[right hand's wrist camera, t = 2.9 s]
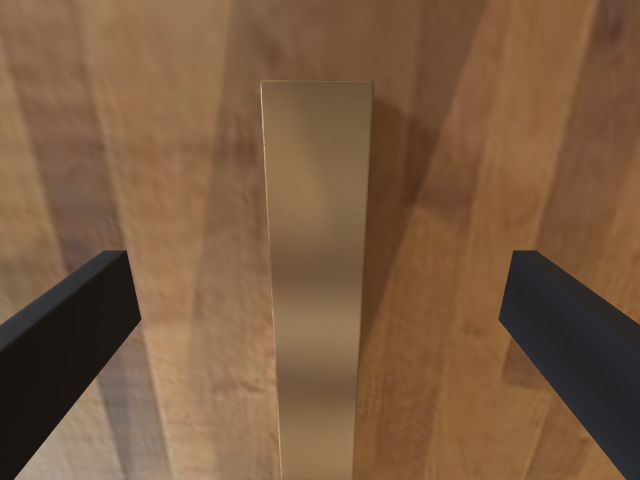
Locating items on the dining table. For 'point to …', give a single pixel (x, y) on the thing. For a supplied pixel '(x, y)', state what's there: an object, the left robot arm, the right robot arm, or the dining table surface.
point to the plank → (316, 264)
